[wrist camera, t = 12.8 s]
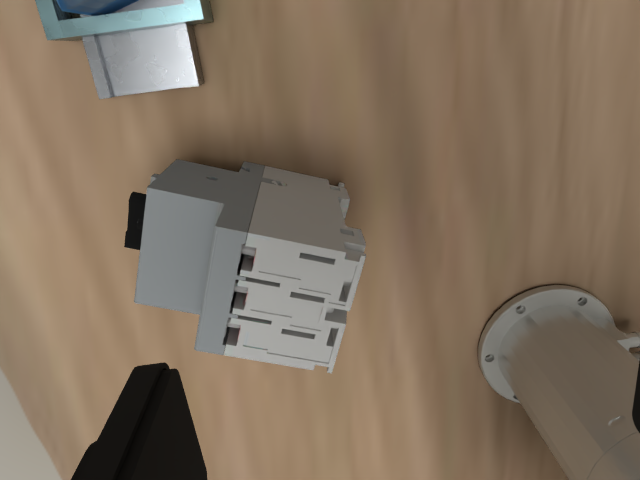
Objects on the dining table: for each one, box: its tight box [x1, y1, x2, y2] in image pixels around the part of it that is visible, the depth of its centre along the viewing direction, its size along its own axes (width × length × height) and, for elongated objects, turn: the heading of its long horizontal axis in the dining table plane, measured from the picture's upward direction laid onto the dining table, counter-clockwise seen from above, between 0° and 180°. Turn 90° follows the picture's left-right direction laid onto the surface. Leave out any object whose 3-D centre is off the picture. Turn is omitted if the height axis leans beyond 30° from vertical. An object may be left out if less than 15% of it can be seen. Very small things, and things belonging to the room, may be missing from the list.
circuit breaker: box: [124, 159, 366, 373], centre depth 33 cm, size 8×14×15 cm, turn 77°
